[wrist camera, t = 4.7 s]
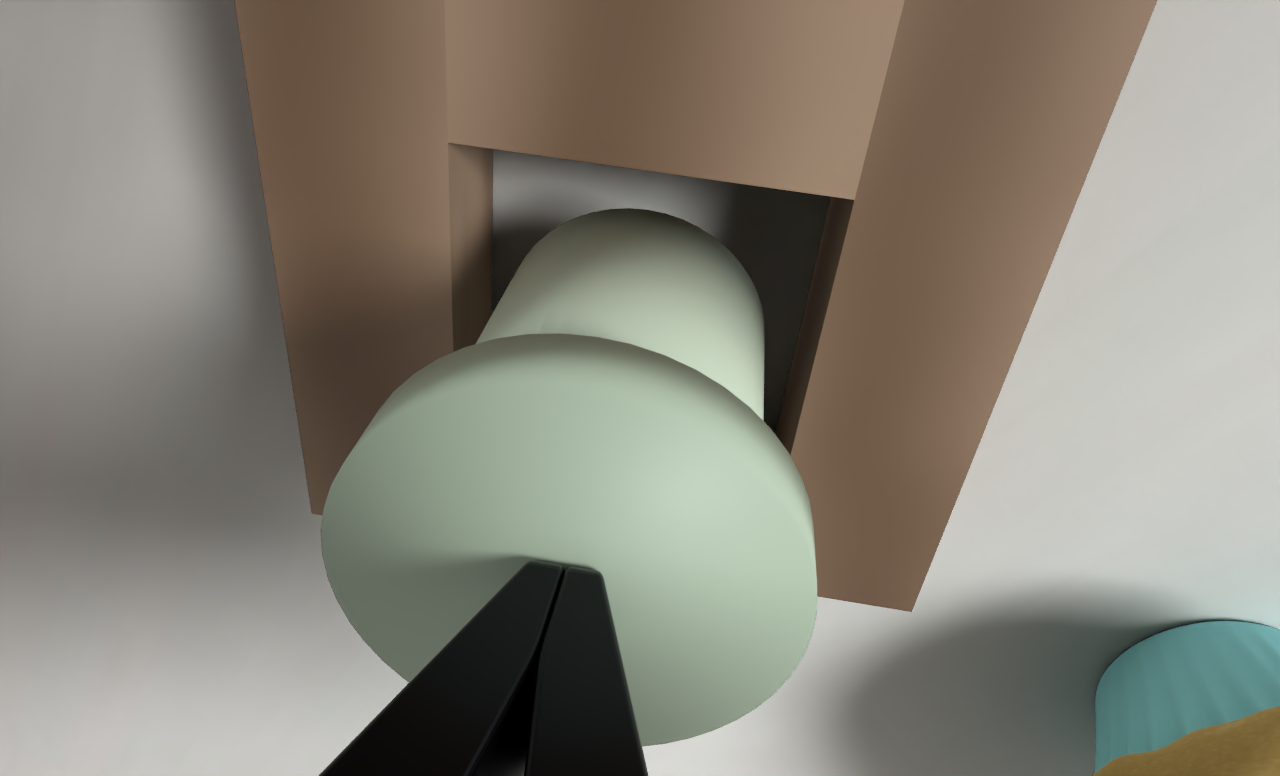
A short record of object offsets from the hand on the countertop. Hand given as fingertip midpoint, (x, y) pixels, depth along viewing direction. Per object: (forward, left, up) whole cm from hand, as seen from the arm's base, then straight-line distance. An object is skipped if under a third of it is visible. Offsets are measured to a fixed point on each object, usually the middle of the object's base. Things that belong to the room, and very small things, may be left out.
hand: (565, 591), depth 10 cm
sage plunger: (0, 0, -6) cm, 6 cm away
